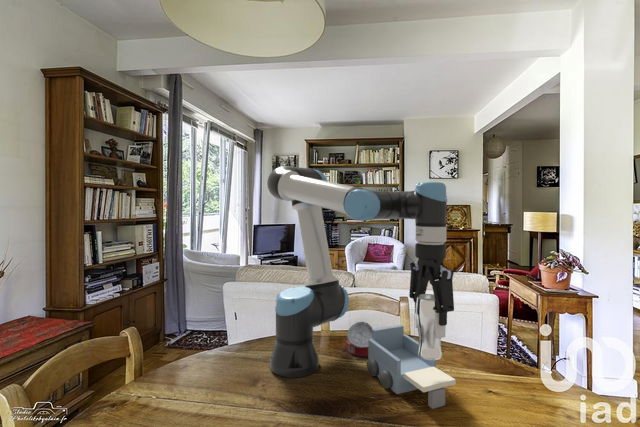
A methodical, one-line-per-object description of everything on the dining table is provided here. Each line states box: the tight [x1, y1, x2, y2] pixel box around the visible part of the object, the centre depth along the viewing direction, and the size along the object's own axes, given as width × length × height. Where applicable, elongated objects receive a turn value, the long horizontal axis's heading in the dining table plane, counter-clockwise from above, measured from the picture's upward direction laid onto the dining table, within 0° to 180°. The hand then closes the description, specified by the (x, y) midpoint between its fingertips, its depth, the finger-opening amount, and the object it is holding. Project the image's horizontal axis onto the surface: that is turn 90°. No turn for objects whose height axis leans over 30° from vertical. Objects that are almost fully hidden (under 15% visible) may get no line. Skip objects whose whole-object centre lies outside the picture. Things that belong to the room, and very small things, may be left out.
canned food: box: [345, 321, 373, 357], centre depth 115 cm, size 11×10×10 cm
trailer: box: [366, 324, 446, 410], centre depth 93 cm, size 24×16×12 cm
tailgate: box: [403, 366, 457, 393], centre depth 85 cm, size 2×10×8 cm
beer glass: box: [415, 293, 443, 361], centre depth 85 cm, size 7×7×15 cm
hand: (429, 331), depth 85 cm, fingers closed on beer glass, 7 cm apart
